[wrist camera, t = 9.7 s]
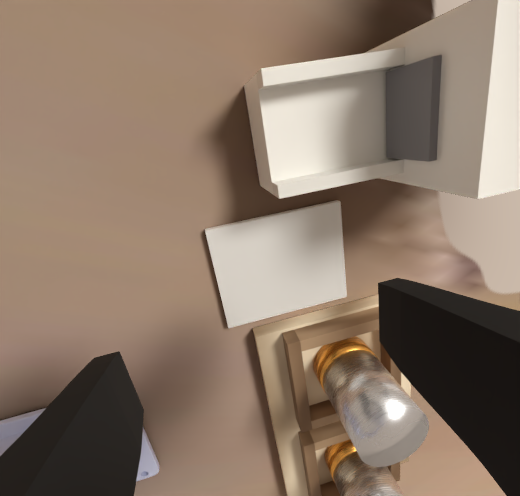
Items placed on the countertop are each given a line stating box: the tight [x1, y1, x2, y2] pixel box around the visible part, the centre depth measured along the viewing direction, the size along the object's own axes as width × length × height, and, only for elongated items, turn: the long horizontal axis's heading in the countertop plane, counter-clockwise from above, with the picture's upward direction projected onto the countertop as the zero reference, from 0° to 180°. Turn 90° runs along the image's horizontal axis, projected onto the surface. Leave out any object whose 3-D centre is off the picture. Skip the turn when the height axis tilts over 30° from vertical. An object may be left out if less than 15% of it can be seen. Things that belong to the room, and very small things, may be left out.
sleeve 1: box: [313, 336, 429, 467], centre depth 18 cm, size 4×4×6 cm
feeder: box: [244, 0, 520, 199], centre depth 13 cm, size 11×6×8 cm, turn 99°
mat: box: [205, 200, 347, 328], centre depth 19 cm, size 8×6×1 cm
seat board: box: [253, 295, 411, 496], centre depth 23 cm, size 11×17×2 cm, turn 9°
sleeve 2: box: [324, 439, 404, 496], centre depth 22 cm, size 4×4×6 cm
